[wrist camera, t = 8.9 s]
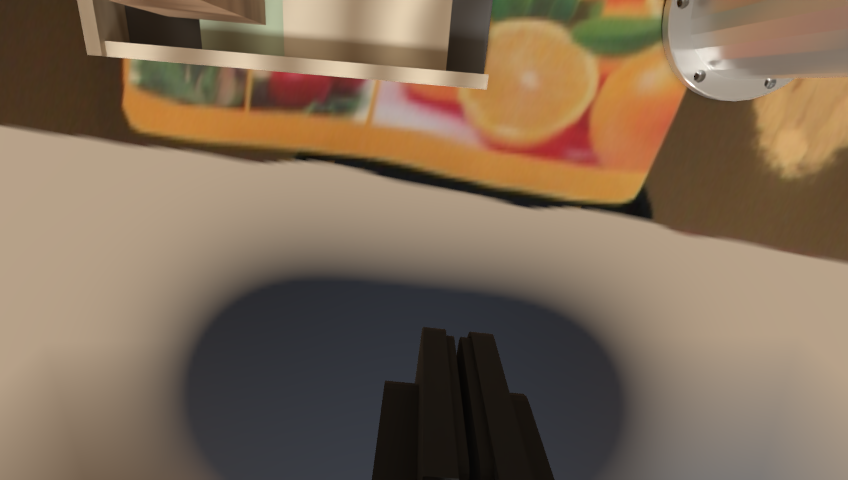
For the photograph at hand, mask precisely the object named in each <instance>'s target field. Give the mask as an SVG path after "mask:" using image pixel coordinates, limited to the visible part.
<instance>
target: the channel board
mask: <svg viewBox="0 0 848 480" xmlns="http://www.w3.org/2000/svg"><path fill="white" fill-rule="evenodd" d="M77 1H78V7H79V12H80V18H81V23H82V28H83V34H84V39H85V44H86V50H87V55H96V56H107V57H118V58H129V59H141V60H152V61H164V62H175V63H187V64H198V65H210V66H221V67H233V68H244V69H256V70H267V71H279V72H290V73H302V74H313V75H325V76H336V77H348V78H359V79H371V80H382V81H394V82H405V83H417V84H428V85H440V86H451V87H463V88H474V89H487V83H488V75H487V74H484V67H485V59H486V51H487V42H488V34H489V26H490V18H491V10H492V1H493V0H265V15H266V25H257V24H246V23H235V22H224V21H212V20H201V19H190V18H179V17H168V16H164V15H160V14H157V13H153V12H149V11H146V10H142V9H138V8H135V7H131V6H127V5H124V4H120V3H116V2H112V1H109V0H77Z"/></svg>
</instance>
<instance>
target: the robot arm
mask: <svg viewBox="0 0 848 480" xmlns="http://www.w3.org/2000/svg"><path fill="white" fill-rule="evenodd" d="M677 1H678V2H679V6H677ZM662 34H663V45H664V49H665V53H666V57H667V60H668V62H669V64H670V66H671V68H672V70H673V72H674V74H675V75H676V76H677V77H678V79H679V80H680V81H681V82H682V83H683V84H684V85H685V86H686V87H688V88H689V89H690V90H692V91H693V92H695V93H697V94H699V95H702V96H704V97H706V98H711V99H716V100H721V101H740V100H749V99H754V98H757V97H760V96H764V95H767V94H769V93H771V92H773V91H775V90H777V89H779V88H781V87H783V86H785V85H786V84H788V83H789V82H791V81H792V80H793V79H795V78H828V77H848V0H666V4H665V7H664V15H663V23H662ZM694 75H695V79H694ZM372 480H554V477H553V474H552V471H551V468H550V465H549V462H548V459H547V456H546V453H545V450H544V447H543V444H542V441H541V438H540V435H539V432H538V429H537V426H536V423H535V420H534V417H533V414H532V410H531V407H530V404H529V402H528V399H527V397H526V396H525V395H524V394H518V393H509V390H508V386H507V382H506V379H505V375H504V371H503V368H502V364H501V361H500V357H499V354H498V350H497V346H496V343H495V339H494V336H493V334H486V333H477V332H469V334H468V337H467V338H465V337H460V340H459V344H458V350H457V355H456V349H455V340H454V337H453V336H446V330H445V329H437V328H427V327H423V328H422V335H421V342H420V349H419V356H418V364H417V371H416V378H415V384H414V383H404V382H393V381H385V385H384V392H383V400H382V407H381V415H380V423H379V430H378V438H377V446H376V453H375V460H374V469H373V475H372Z"/></svg>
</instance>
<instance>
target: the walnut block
mask: <svg viewBox="0 0 848 480" xmlns="http://www.w3.org/2000/svg"><path fill="white" fill-rule="evenodd" d="M109 1H112V2H116V3H120V4H124V5H127V6H131V7H135V8H138V9H142V10H146V11H149V12H153V13H157V14H160V15H164V16H168V17H179V18H190V19H201V20H212V21H224V22H235V23H246V24H257V25H266V15H265V0H109Z"/></svg>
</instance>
